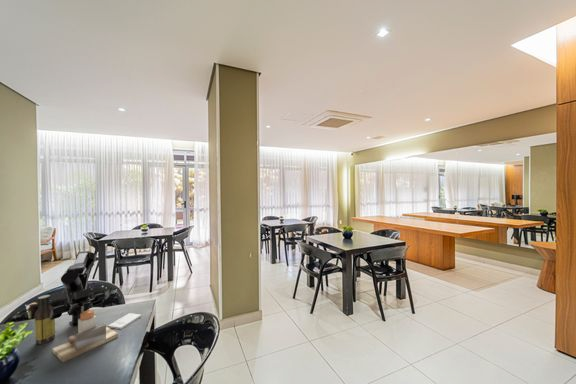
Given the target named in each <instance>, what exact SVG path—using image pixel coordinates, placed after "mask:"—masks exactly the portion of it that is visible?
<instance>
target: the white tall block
mask: <svg viewBox="0 0 576 384" xmlns="http://www.w3.org/2000/svg"><path fill="white" fill-rule="evenodd" d="M96 326H97V316H96V315H95V310H94V309H89V310H87V311H84V312H82V313H81V314H80V319H78V325H77V331H78V333H81V332H83V331H86V330H88V329H91V328H93V327H96ZM78 333H77V334H78Z"/></svg>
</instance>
